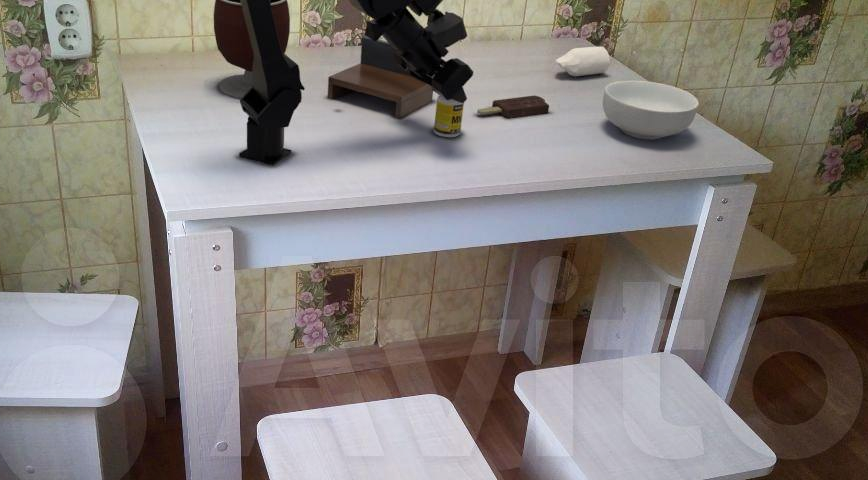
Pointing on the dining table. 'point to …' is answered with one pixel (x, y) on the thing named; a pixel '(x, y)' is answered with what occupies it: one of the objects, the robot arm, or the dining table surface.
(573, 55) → the white tapered cylinder
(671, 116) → the cereal bowl
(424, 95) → the shelf
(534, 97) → the ice cream bar
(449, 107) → the supplement bottle
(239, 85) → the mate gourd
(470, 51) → the dining table surface
